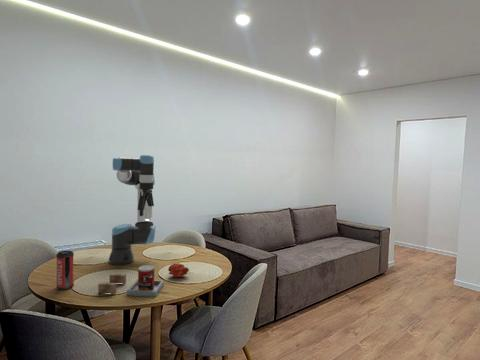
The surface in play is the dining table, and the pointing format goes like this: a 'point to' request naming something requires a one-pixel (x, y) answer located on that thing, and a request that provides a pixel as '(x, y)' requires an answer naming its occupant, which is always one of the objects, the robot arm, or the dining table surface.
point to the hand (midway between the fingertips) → (145, 219)
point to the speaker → (64, 270)
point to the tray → (136, 292)
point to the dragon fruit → (178, 270)
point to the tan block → (111, 283)
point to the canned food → (146, 277)
